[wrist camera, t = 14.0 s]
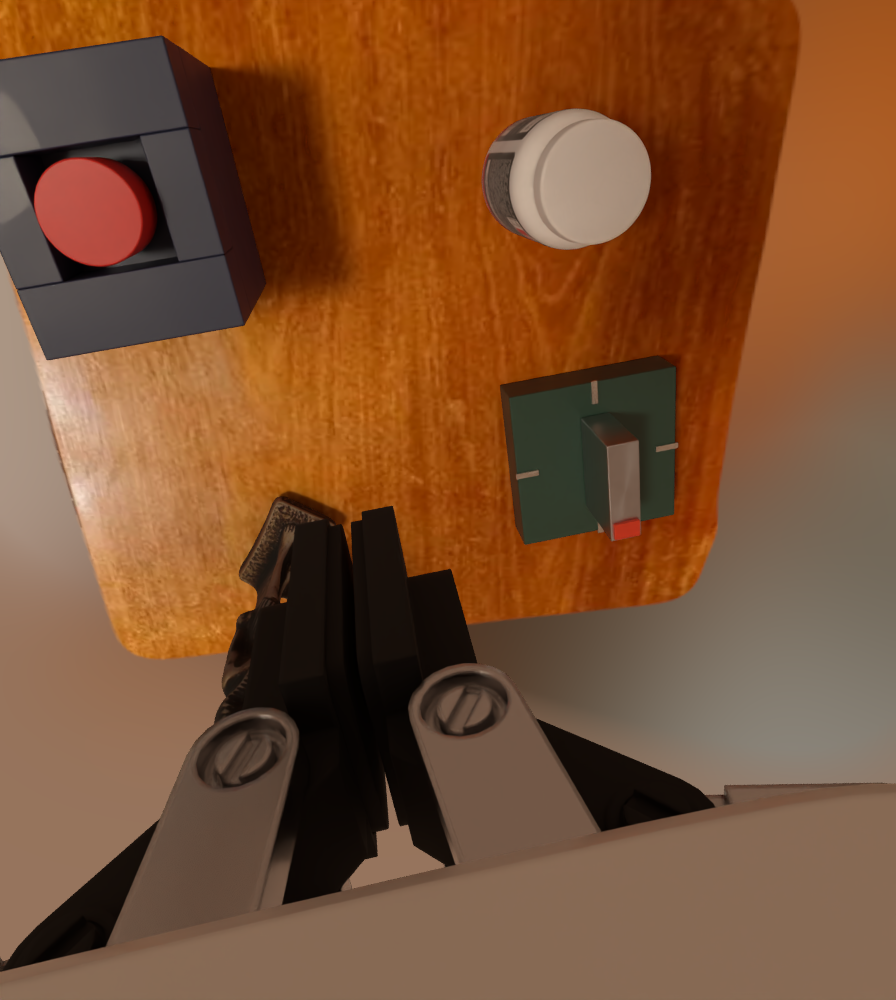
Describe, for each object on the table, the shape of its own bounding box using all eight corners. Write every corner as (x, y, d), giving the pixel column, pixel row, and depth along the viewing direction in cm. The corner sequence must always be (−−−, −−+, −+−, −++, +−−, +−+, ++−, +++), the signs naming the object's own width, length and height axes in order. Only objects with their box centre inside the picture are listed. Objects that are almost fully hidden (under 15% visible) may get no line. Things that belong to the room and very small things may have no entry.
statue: (339, 513, 44) (342, 758, 26) (294, 598, 46) (268, 876, 28) (277, 488, 42) (235, 729, 25) (234, 577, 45) (167, 855, 27)
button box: (36, 93, 32) (-79, 70, 23) (210, 67, 32) (162, 34, 23) (116, 310, 36) (46, 361, 28) (266, 284, 37) (245, 325, 28)
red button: (40, 165, 25) (15, 166, 23) (138, 149, 26) (121, 149, 24) (79, 265, 27) (58, 274, 25) (170, 250, 27) (157, 258, 25)
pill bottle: (551, 253, 38) (616, 283, 30) (461, 205, 36) (501, 222, 28) (603, 149, 36) (690, 148, 28) (511, 93, 34) (572, 73, 26)
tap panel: (497, 383, 41) (507, 397, 39) (660, 353, 42) (679, 364, 40) (514, 528, 46) (523, 548, 44) (659, 498, 47) (677, 516, 44)
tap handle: (580, 417, 40) (608, 448, 36) (609, 411, 40) (641, 441, 36) (585, 506, 43) (612, 543, 39) (613, 500, 43) (643, 537, 39)
